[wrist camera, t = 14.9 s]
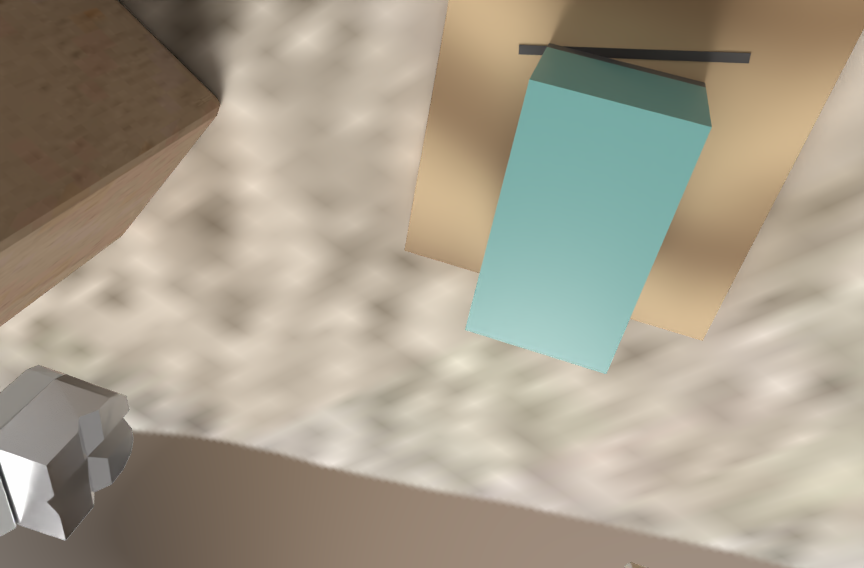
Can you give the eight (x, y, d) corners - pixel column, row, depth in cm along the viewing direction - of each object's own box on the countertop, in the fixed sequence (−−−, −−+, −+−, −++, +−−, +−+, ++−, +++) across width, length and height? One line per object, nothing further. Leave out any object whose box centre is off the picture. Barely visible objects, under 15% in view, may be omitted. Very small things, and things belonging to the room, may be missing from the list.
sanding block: (549, 42, 22) (529, 79, 19) (705, 82, 22) (711, 127, 19) (488, 271, 28) (465, 330, 24) (613, 308, 27) (606, 374, 24)
